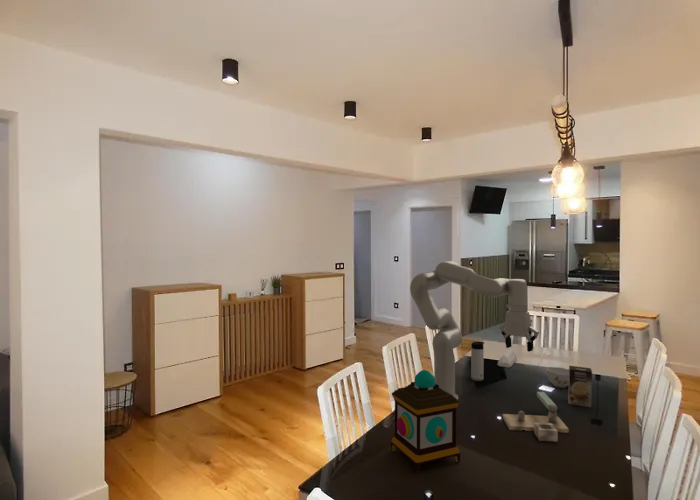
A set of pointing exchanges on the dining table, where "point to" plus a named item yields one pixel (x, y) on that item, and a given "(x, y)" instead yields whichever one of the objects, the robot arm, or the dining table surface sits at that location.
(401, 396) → the decorative lantern
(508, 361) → the crystal
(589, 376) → the coffee box
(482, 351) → the travel mug
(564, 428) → the pintle board
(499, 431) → the dining table surface
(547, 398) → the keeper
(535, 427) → the collar
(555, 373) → the teacup
